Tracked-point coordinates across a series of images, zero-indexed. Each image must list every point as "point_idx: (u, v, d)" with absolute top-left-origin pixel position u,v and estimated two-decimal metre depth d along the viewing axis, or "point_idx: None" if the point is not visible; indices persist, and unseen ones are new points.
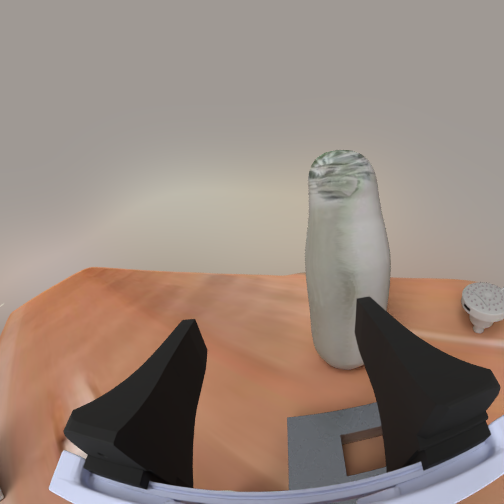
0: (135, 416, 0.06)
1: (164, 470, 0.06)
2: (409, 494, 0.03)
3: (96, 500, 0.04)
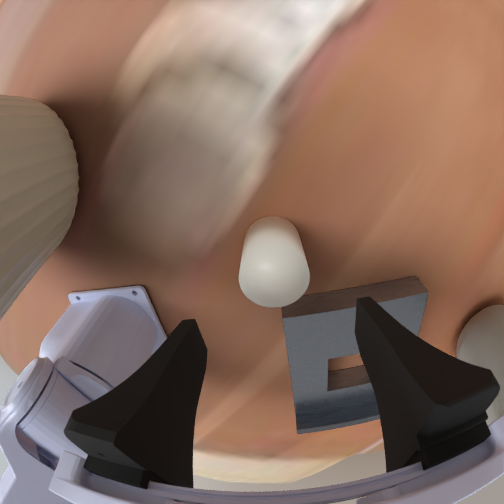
0: (135, 416, 0.06)
1: (164, 470, 0.06)
2: (409, 494, 0.03)
3: (96, 500, 0.04)
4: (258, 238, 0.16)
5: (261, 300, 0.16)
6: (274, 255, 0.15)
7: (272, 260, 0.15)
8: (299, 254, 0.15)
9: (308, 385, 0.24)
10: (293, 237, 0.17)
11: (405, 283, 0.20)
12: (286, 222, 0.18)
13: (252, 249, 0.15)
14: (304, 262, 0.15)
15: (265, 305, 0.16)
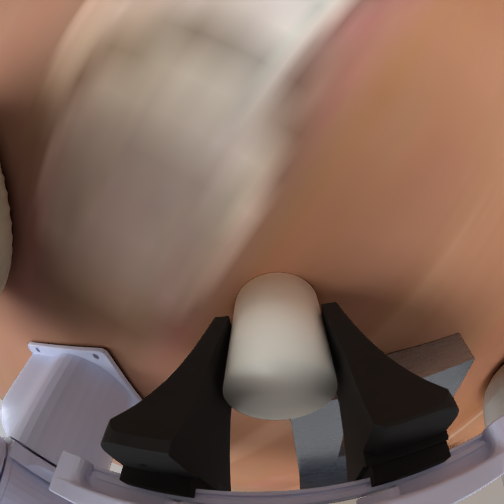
0: (185, 421, 0.06)
1: (209, 475, 0.06)
2: (409, 494, 0.03)
3: (96, 500, 0.04)
4: (255, 327, 0.09)
5: (259, 413, 0.09)
6: (281, 368, 0.08)
7: (277, 374, 0.08)
8: (324, 363, 0.08)
9: (316, 455, 0.17)
10: (312, 320, 0.10)
11: (447, 346, 0.13)
12: (300, 285, 0.12)
13: (243, 352, 0.08)
14: (331, 374, 0.08)
15: (265, 418, 0.09)
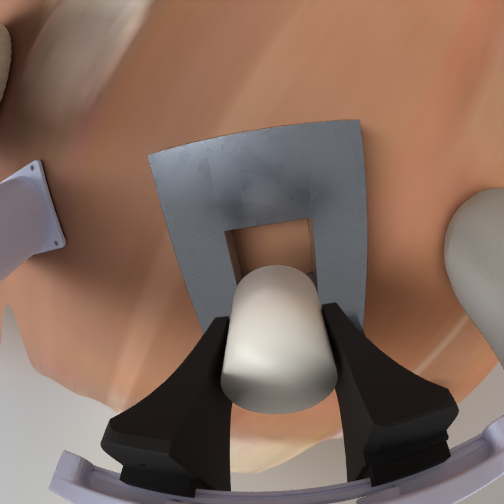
0: (185, 421, 0.06)
1: (209, 475, 0.06)
2: (409, 494, 0.03)
3: (96, 500, 0.04)
4: (249, 319, 0.09)
5: (261, 408, 0.09)
6: (275, 358, 0.08)
7: (273, 364, 0.08)
8: (320, 351, 0.08)
9: (209, 286, 0.18)
10: (308, 309, 0.10)
11: None
12: (295, 275, 0.12)
13: (237, 344, 0.09)
14: (329, 362, 0.08)
15: (268, 412, 0.09)
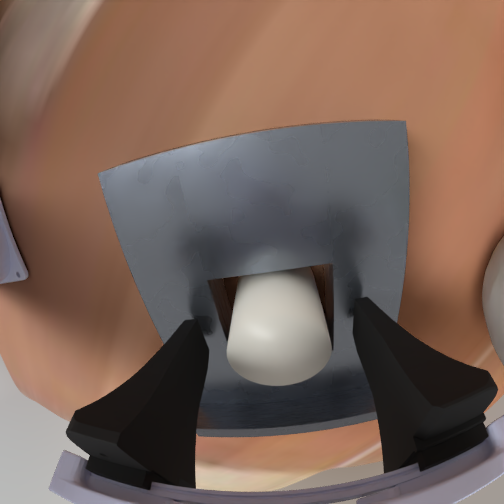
0: (138, 416, 0.06)
1: (167, 470, 0.06)
2: (409, 494, 0.03)
3: (96, 500, 0.04)
4: (252, 294, 0.11)
5: (263, 379, 0.11)
6: (275, 327, 0.09)
7: (274, 334, 0.09)
8: (315, 321, 0.09)
9: None
10: (305, 287, 0.11)
11: None
12: None
13: (242, 316, 0.10)
14: (323, 332, 0.09)
15: (269, 384, 0.11)
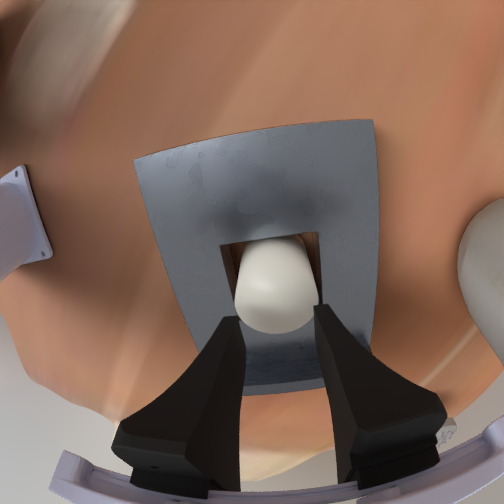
0: (199, 422, 0.06)
1: (221, 476, 0.06)
2: (409, 494, 0.03)
3: (96, 500, 0.04)
4: (255, 255, 0.14)
5: (263, 327, 0.14)
6: (273, 277, 0.12)
7: (272, 282, 0.12)
8: (304, 273, 0.12)
9: (203, 305, 0.16)
10: (296, 251, 0.14)
11: (336, 120, 0.13)
12: None
13: (247, 270, 0.13)
14: (310, 282, 0.12)
15: (268, 332, 0.14)
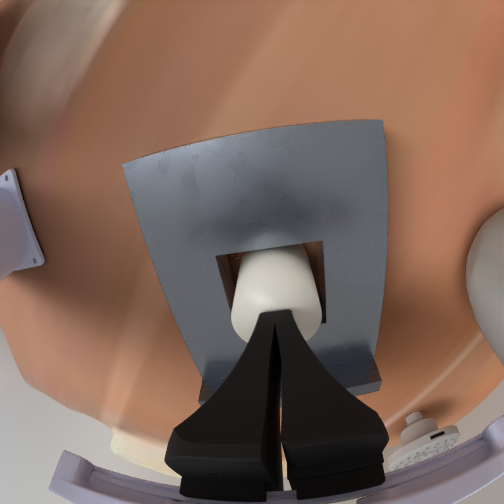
0: (264, 421, 0.06)
1: (275, 476, 0.06)
2: (409, 494, 0.03)
3: (96, 500, 0.04)
4: (254, 266, 0.13)
5: None
6: (273, 292, 0.11)
7: (272, 298, 0.11)
8: (307, 288, 0.11)
9: (200, 317, 0.15)
10: (299, 262, 0.13)
11: (342, 120, 0.12)
12: None
13: (245, 283, 0.12)
14: (314, 298, 0.11)
15: None
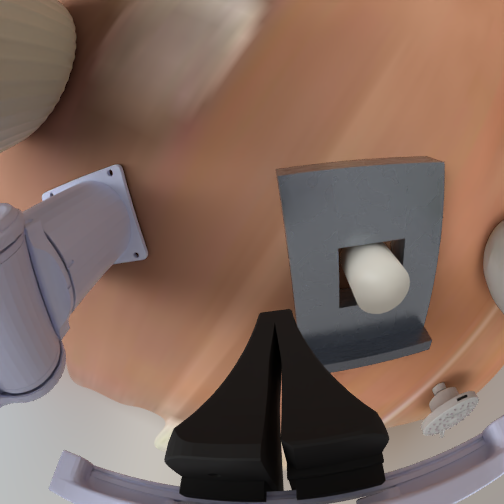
0: (264, 421, 0.06)
1: (275, 476, 0.06)
2: (409, 494, 0.03)
3: (96, 500, 0.04)
4: (368, 254, 0.17)
5: (369, 308, 0.17)
6: (387, 270, 0.16)
7: (385, 274, 0.16)
8: (404, 268, 0.16)
9: (315, 296, 0.20)
10: (392, 253, 0.18)
11: (417, 158, 0.16)
12: None
13: (368, 265, 0.16)
14: (407, 275, 0.16)
15: (371, 312, 0.17)
